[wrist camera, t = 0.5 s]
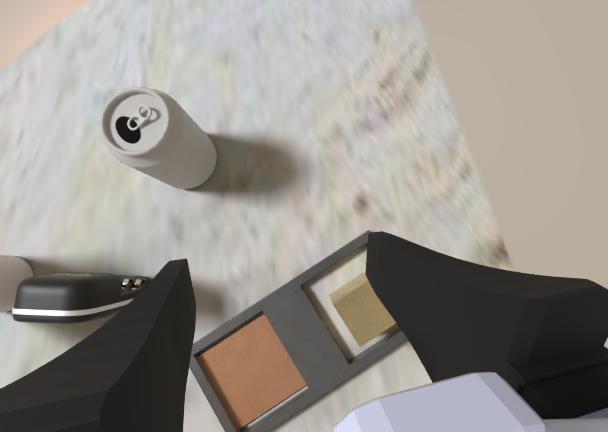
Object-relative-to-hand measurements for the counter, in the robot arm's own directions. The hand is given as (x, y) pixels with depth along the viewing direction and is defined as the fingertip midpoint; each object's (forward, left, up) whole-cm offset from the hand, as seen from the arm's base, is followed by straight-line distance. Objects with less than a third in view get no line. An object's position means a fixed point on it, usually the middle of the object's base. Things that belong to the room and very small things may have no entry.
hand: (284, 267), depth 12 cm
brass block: (-7, -2, -24) cm, 26 cm away
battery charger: (+9, +20, -25) cm, 33 cm away
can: (+18, +6, -25) cm, 31 cm away
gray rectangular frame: (-7, +5, -24) cm, 26 cm away
